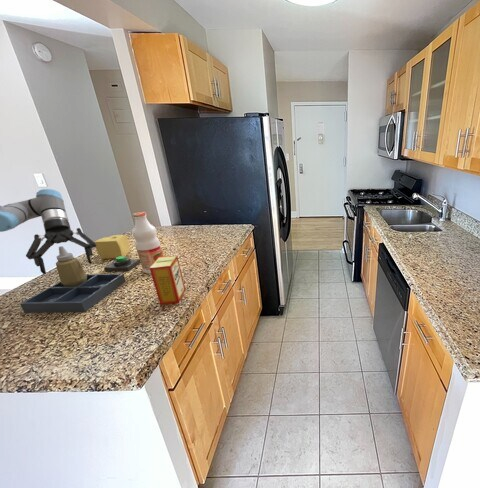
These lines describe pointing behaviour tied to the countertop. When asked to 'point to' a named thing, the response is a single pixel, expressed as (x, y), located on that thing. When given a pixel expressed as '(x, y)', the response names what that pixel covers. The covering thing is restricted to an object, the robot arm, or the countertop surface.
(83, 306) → the compartment tray
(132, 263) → the panel
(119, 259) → the button
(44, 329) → the countertop surface
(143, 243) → the fruit juice
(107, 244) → the cheese
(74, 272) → the squeeze bottle
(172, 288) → the baking soda box
